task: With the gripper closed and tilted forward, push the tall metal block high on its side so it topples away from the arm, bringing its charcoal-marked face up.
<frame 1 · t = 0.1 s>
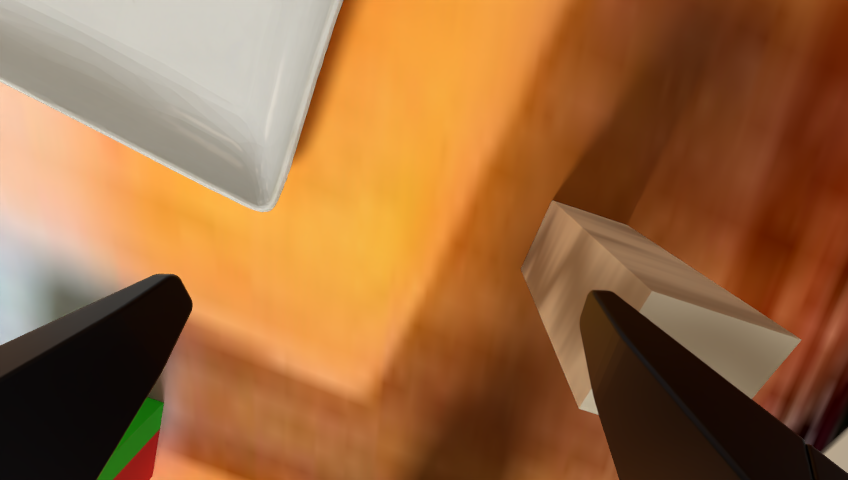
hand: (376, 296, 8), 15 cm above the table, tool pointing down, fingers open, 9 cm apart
metal block: (572, 247, 23), on the table
puzzle toy: (107, 420, 33), on the table
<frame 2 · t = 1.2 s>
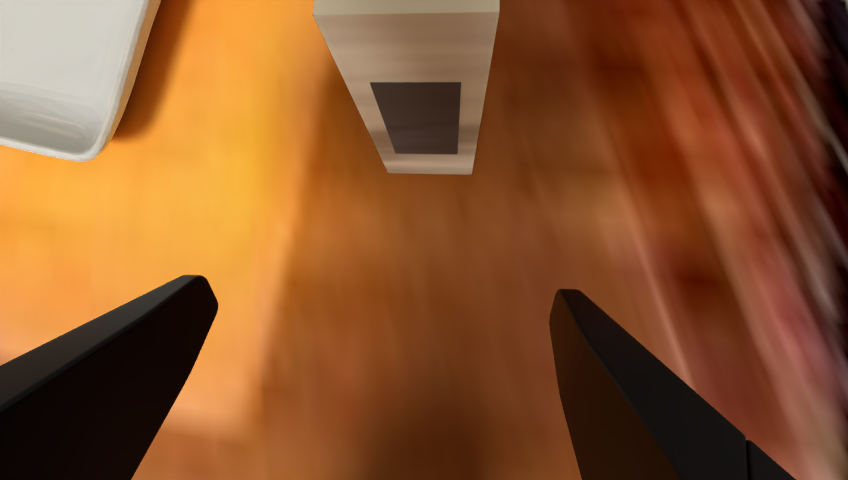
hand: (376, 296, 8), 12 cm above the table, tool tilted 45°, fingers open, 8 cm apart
metal block: (431, 134, 22), on the table
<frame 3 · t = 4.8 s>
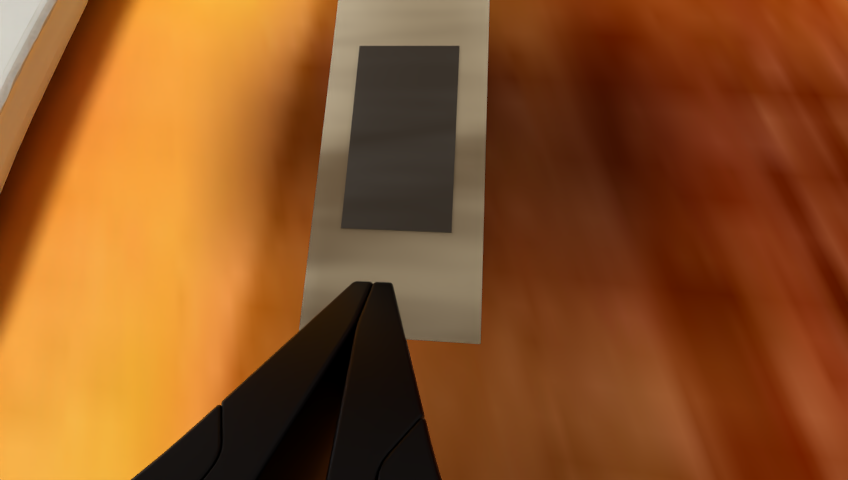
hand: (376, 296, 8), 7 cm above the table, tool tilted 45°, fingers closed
metal block: (400, 332, 12), point 2 cm above the table, tilted 90°
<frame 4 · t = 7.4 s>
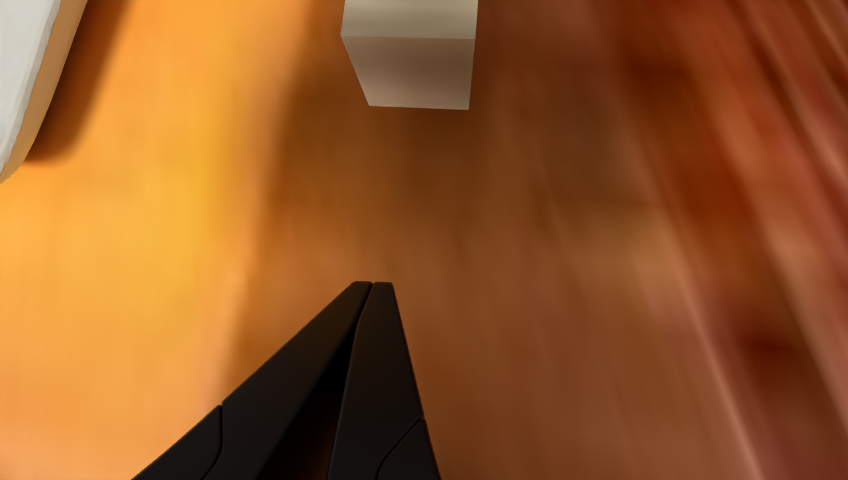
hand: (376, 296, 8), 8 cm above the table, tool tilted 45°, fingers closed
metal block: (413, 79, 15), point 2 cm above the table, tilted 90°
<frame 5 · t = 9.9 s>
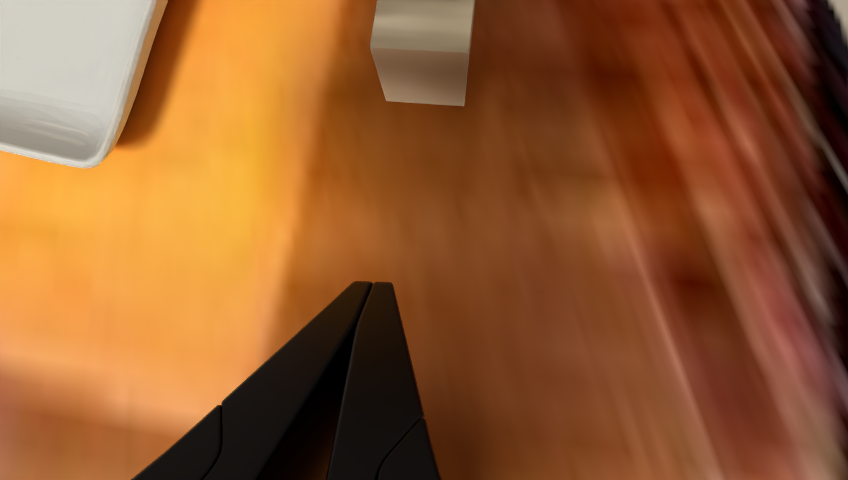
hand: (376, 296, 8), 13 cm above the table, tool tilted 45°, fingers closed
metal block: (422, 81, 20), point 2 cm above the table, tilted 90°
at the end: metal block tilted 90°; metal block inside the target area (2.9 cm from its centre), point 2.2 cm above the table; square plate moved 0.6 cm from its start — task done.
